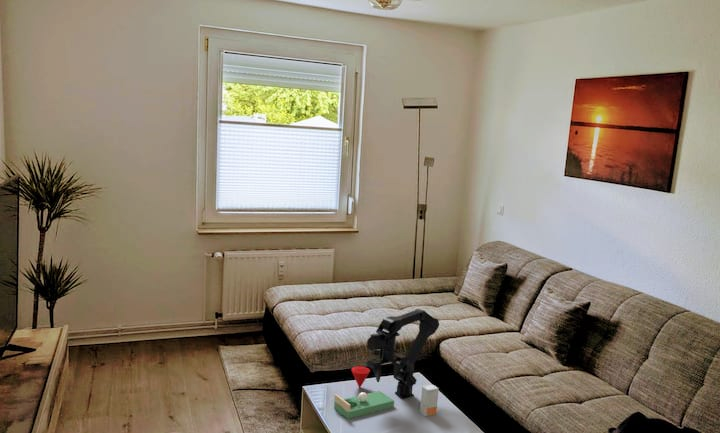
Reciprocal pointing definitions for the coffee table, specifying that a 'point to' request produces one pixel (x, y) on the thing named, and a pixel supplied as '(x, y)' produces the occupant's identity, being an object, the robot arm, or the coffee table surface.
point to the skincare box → (429, 400)
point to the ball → (362, 397)
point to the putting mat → (362, 404)
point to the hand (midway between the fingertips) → (386, 380)
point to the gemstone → (360, 374)
